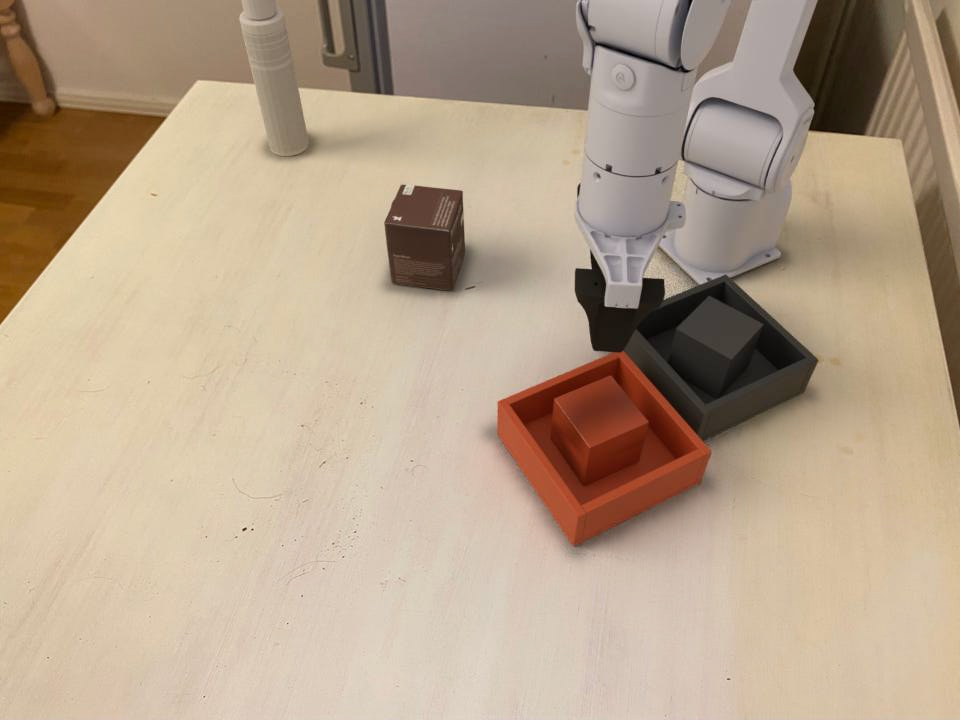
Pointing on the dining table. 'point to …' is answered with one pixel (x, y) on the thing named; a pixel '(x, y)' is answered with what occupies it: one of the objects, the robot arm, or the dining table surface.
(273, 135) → the bottle
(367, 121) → the dining table surface
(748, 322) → the grey block
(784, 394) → the charcoal bin
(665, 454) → the rust bin
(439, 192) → the box
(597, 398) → the red block
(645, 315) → the robot arm
